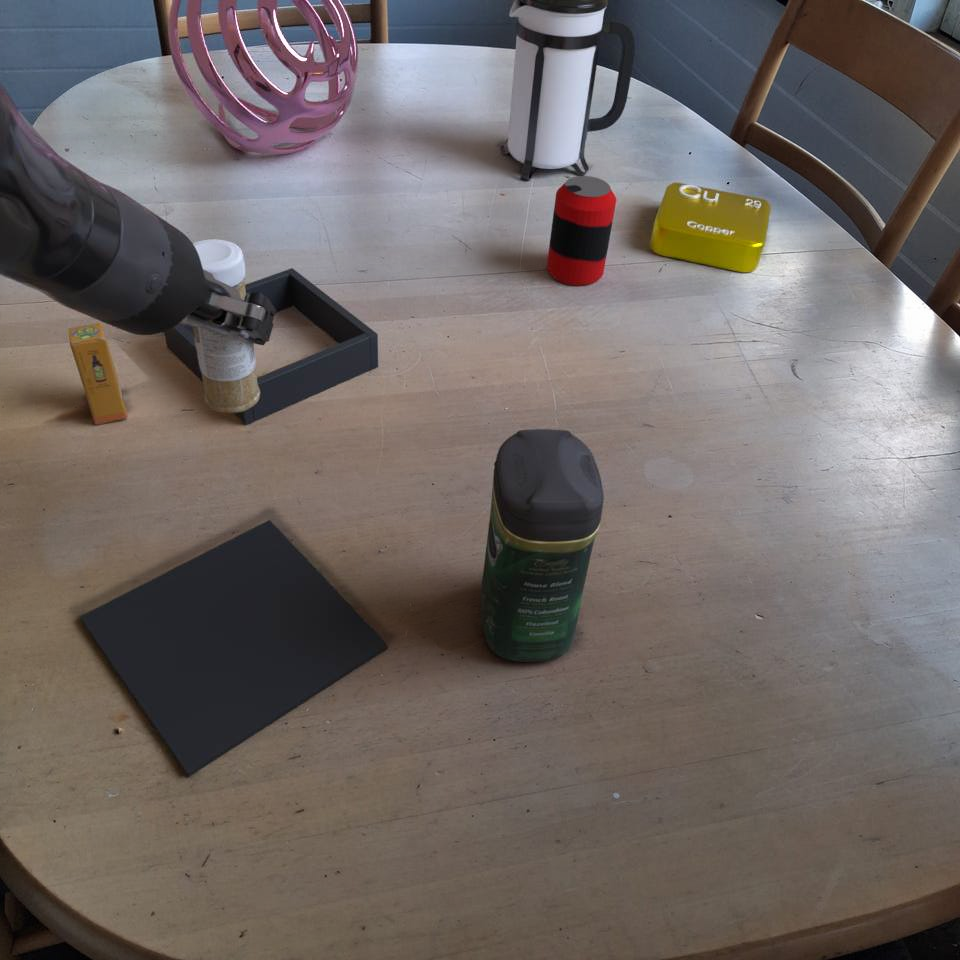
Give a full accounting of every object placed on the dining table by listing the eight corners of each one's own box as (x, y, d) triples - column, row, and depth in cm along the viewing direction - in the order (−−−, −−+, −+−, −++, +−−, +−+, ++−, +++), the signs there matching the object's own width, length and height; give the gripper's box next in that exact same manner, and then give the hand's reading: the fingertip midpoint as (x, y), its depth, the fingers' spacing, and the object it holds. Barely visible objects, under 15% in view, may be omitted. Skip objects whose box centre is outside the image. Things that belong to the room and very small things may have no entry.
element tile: (646, 253, 125) (653, 221, 121) (663, 206, 135) (669, 176, 132) (755, 276, 122) (765, 244, 119) (763, 226, 133) (773, 196, 129)
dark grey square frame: (245, 425, 93) (240, 391, 90) (167, 348, 102) (159, 314, 99) (378, 367, 102) (377, 333, 99) (295, 300, 111) (292, 267, 108)
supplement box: (124, 400, 95) (103, 320, 88) (128, 420, 93) (106, 339, 86) (91, 406, 94) (67, 325, 87) (93, 426, 92) (69, 345, 85)
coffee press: (569, 196, 136) (600, -25, 115) (479, 166, 141) (493, -50, 121) (618, 158, 147) (654, -50, 126) (532, 131, 152) (554, -72, 132)
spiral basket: (113, -17, 133) (198, -108, 114) (275, 4, 152) (371, -71, 132) (159, 176, 138) (248, 121, 118) (311, 174, 156) (410, 126, 137)
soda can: (536, 263, 121) (546, 177, 113) (583, 252, 124) (597, 168, 116) (565, 291, 116) (578, 204, 108) (614, 280, 119) (630, 194, 111)
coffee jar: (580, 665, 74) (619, 507, 62) (485, 669, 74) (504, 509, 61) (562, 575, 81) (593, 416, 69) (475, 578, 80) (490, 417, 68)
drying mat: (188, 777, 65) (187, 773, 65) (80, 621, 74) (79, 616, 74) (387, 648, 74) (387, 644, 74) (270, 523, 84) (269, 519, 83)
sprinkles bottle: (214, 379, 76) (189, 233, 67) (267, 385, 76) (250, 240, 67) (197, 413, 73) (168, 264, 64) (253, 419, 73) (232, 271, 64)
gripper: (233, 223, 54) (331, 299, 70) (28, 177, 56) (169, 261, 73) (199, 345, 54) (305, 392, 70) (-5, 292, 56) (144, 350, 73)
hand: (235, 324), depth 72 cm, fingers closed on sprinkles bottle, 4 cm apart
